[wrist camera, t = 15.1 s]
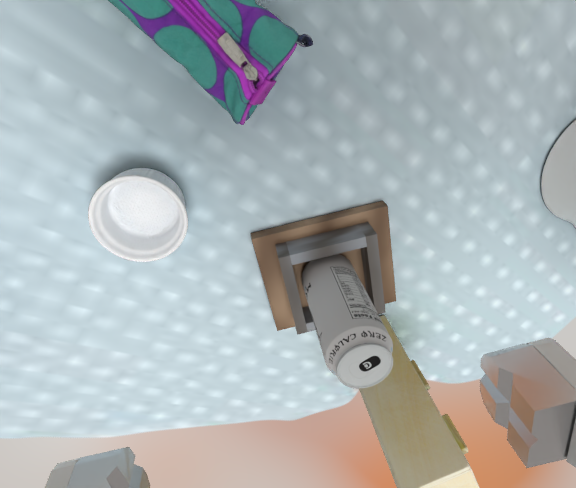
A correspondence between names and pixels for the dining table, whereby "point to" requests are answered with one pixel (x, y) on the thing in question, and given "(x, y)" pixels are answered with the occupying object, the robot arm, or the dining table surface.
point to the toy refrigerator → (415, 428)
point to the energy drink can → (347, 323)
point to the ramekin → (139, 215)
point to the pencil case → (220, 45)
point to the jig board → (321, 243)
